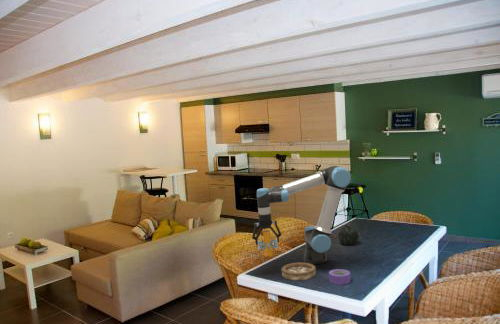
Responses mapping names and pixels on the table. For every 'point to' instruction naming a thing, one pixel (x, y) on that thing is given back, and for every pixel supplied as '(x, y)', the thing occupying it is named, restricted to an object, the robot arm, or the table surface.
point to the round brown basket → (298, 271)
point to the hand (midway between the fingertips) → (268, 248)
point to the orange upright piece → (267, 244)
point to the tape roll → (339, 276)
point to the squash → (348, 235)
